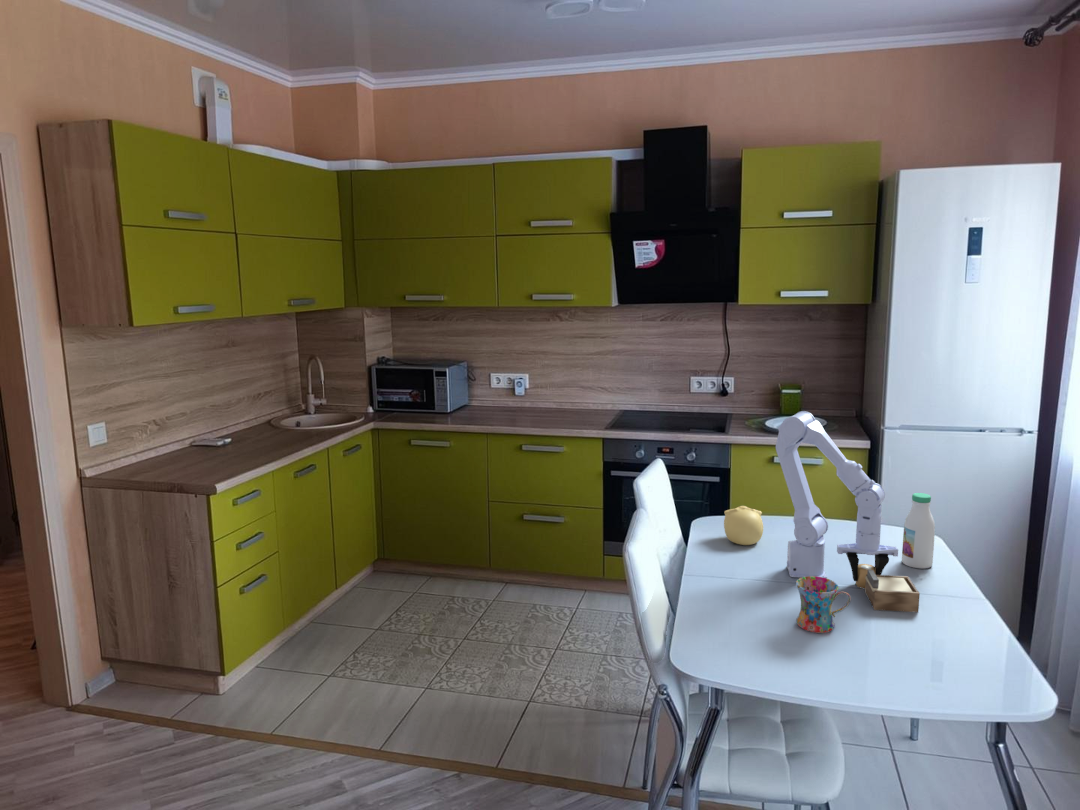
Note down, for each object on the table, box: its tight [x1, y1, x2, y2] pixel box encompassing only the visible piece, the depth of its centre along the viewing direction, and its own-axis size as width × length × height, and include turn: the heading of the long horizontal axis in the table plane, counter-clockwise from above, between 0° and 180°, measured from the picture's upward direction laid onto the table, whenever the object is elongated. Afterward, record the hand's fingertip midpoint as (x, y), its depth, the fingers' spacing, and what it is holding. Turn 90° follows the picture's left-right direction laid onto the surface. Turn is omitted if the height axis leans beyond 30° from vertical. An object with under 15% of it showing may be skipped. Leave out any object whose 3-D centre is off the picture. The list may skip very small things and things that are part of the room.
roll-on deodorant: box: [855, 563, 876, 590], centre depth 200 cm, size 5×5×5 cm
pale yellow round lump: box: [723, 505, 764, 546], centre depth 232 cm, size 11×12×11 cm
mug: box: [795, 576, 852, 634], centre depth 178 cm, size 12×9×11 cm
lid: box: [865, 569, 913, 592], centre depth 190 cm, size 9×8×3 cm
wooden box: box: [864, 574, 921, 613], centre depth 190 cm, size 10×10×5 cm
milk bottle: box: [901, 492, 936, 570], centre depth 211 cm, size 8×8×20 cm
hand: (865, 580), depth 200 cm, fingers closed on roll-on deodorant, 5 cm apart
